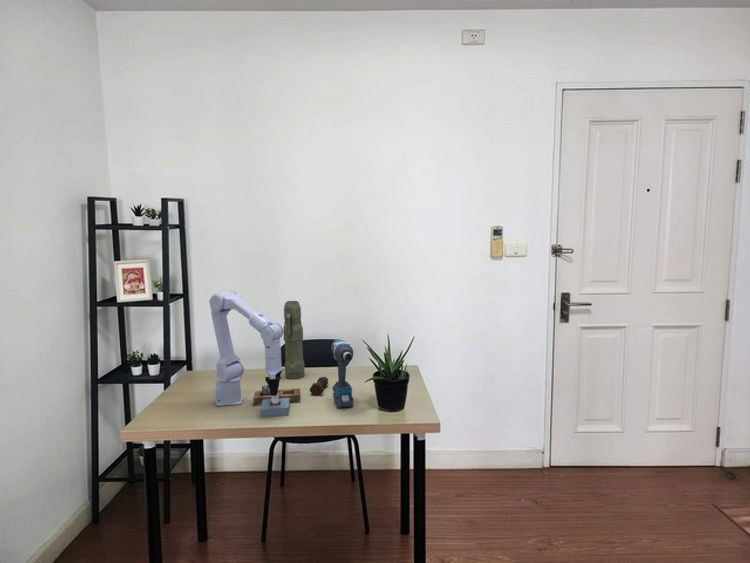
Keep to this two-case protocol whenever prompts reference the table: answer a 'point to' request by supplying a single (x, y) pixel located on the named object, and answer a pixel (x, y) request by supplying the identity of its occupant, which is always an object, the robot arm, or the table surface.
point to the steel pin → (275, 400)
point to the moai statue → (293, 341)
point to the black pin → (265, 390)
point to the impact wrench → (342, 374)
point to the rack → (283, 393)
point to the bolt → (319, 386)
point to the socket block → (275, 408)
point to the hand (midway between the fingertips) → (274, 391)
